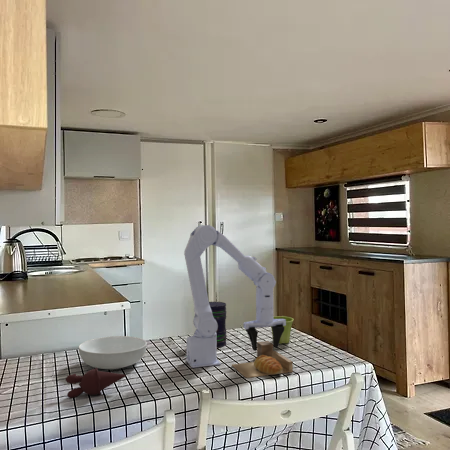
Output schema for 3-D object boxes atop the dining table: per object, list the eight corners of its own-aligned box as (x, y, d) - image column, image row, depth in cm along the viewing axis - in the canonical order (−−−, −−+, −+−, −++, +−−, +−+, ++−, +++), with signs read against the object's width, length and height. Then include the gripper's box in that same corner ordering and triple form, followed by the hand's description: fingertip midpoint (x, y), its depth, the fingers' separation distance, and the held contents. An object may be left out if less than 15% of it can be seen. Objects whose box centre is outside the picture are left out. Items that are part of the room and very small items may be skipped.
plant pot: (297, 340, 165) (297, 317, 165) (287, 346, 157) (287, 322, 157) (275, 337, 170) (275, 315, 170) (264, 343, 162) (264, 319, 162)
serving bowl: (142, 375, 128) (142, 352, 128) (70, 377, 127) (70, 353, 127) (150, 354, 149) (150, 334, 149) (88, 356, 148) (88, 335, 148)
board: (246, 378, 125) (246, 367, 125) (231, 365, 137) (231, 355, 137) (292, 371, 130) (292, 361, 130) (275, 360, 141) (275, 350, 141)
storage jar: (195, 342, 163) (195, 303, 163) (218, 339, 168) (218, 300, 168) (207, 349, 155) (206, 307, 155) (231, 345, 159) (231, 304, 159)
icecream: (122, 361, 121) (65, 372, 116) (124, 362, 114) (64, 374, 109) (125, 387, 119) (67, 400, 114) (128, 390, 113) (67, 403, 108)
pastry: (288, 373, 128) (288, 360, 128) (270, 377, 125) (270, 364, 125) (268, 364, 136) (268, 352, 136) (251, 368, 132) (250, 356, 132)
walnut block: (261, 360, 142) (261, 345, 142) (257, 357, 145) (257, 342, 145) (273, 359, 143) (273, 344, 143) (268, 355, 147) (268, 340, 147)
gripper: (249, 311, 138) (249, 354, 138) (290, 308, 143) (290, 349, 143) (241, 307, 145) (241, 348, 145) (280, 304, 149) (280, 344, 149)
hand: (265, 348), depth 144 cm, fingers open, 7 cm apart
